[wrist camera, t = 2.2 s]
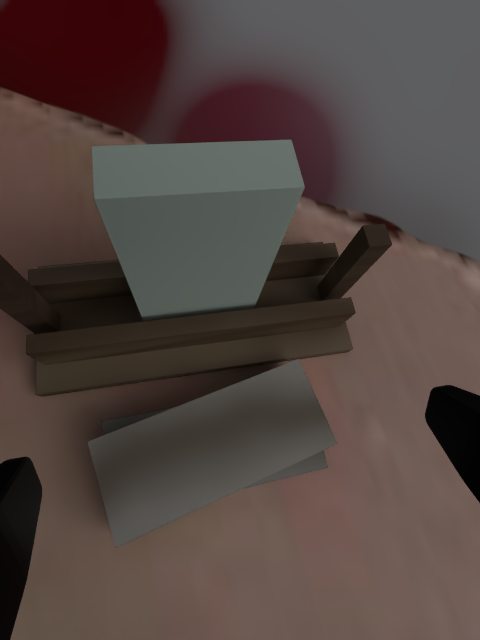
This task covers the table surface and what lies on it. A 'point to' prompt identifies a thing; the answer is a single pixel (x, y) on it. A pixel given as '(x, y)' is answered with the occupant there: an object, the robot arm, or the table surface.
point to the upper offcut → (207, 449)
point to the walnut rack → (183, 319)
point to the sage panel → (196, 220)
